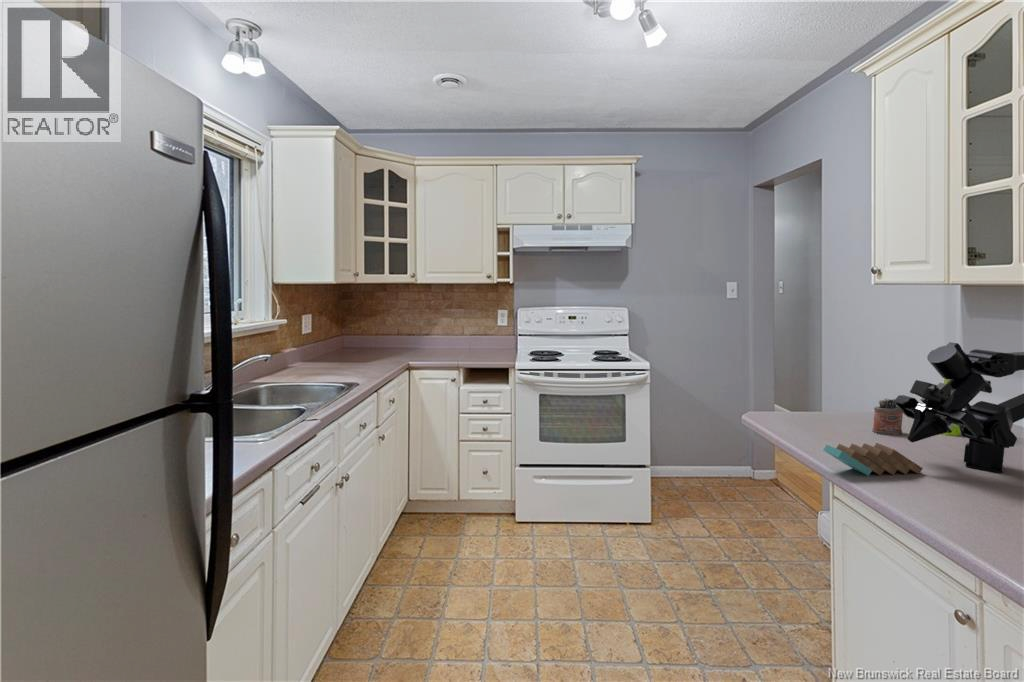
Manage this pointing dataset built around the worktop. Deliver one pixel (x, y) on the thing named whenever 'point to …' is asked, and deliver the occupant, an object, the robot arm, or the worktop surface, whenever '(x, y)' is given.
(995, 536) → the worktop surface
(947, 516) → the worktop surface
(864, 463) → the domino
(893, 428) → the red tin can
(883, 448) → the domino
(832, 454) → the domino
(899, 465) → the domino
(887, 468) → the domino
